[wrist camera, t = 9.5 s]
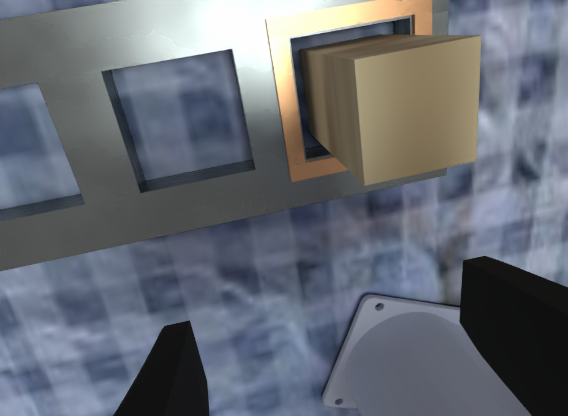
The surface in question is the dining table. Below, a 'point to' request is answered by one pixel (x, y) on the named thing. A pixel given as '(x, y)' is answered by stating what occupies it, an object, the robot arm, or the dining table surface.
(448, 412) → the robot arm
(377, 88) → the birch peg
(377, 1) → the gray peg hole board
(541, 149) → the dining table surface
